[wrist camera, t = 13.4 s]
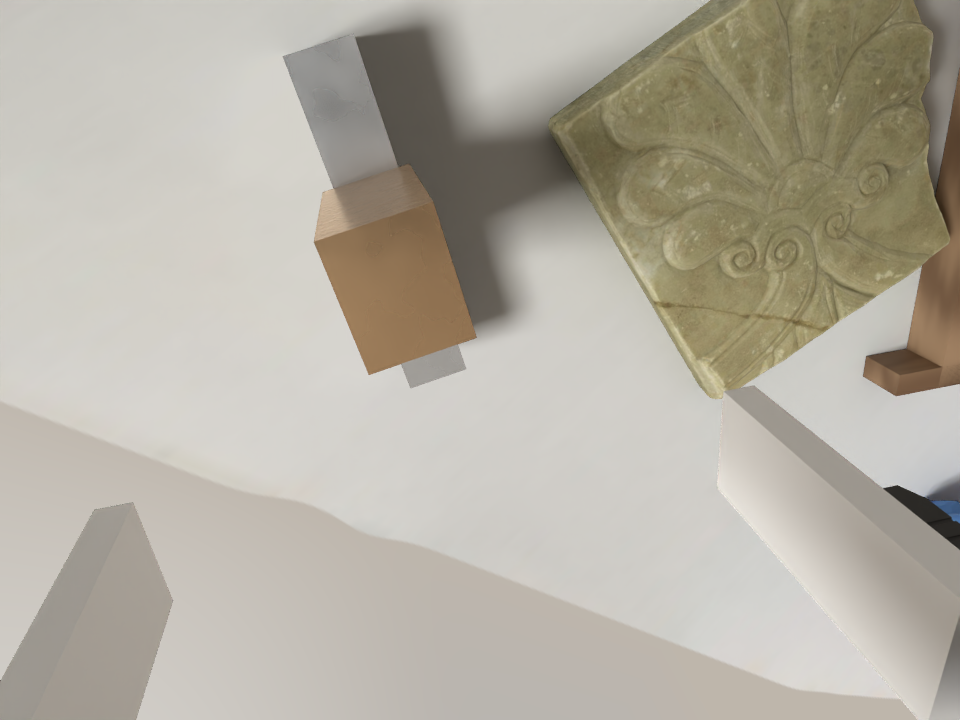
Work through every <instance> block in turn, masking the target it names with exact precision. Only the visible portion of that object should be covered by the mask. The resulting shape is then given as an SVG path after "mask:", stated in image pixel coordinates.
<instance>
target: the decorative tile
mask: <svg viewBox="0 0 960 720" xmlns="http://www.w3.org/2000/svg"><path fill="white" fill-rule="evenodd" d="M933 37H934V36H933V32H932V31H931V30H930V29H929V28H927V27H926V26H925V25H924V24H923V23H922V21H921V19H920V17H919V13H918V10H917V8H916V6H915V4H914V0H710V1H709V2H708V3H706V4H705V5H704V6H702V7H701V8H700V9H698V10H697V11H696V12H694V13H693V14H692V15H690V16H689V17H688V18H686V19H685V20H684V21H682V22H681V23H679V24H678V25H677V26H675V27H674V28H673V29H671V30H670V31H668V32H667V33H666V34H664V35H663V36H662V37H660V38H659V39H657V40H656V41H655V42H653V43H652V44H651V45H649V46H648V47H646V48H645V49H644V50H642V51H641V52H639V53H638V54H637V55H635V56H634V57H632V58H631V59H630V60H628V61H627V62H626V63H624V64H623V65H622V66H620V67H619V68H618V69H616V70H615V71H614V72H612V73H611V74H610V75H608V76H607V77H606V78H604V79H603V80H602V81H600V82H599V83H598V84H596V85H595V86H594V87H592V88H591V89H590V90H588V91H587V92H586V93H584V94H583V95H581V96H580V97H579V98H577V99H576V100H575V101H573V102H572V103H570V104H569V105H568V106H566V107H565V108H564V109H562V110H561V111H560V112H558V113H557V114H555V115H554V116H553V117H551V118H550V121H549V124H548V128H549V131H550V132H551V134H552V136H553V138H554V139H555V141H556V143H557V145H558V146H559V148H560V150H561V152H562V153H563V155H564V157H565V159H566V160H567V162H568V163H569V165H570V167H571V168H572V170H573V172H574V174H575V175H576V177H577V179H578V181H579V182H580V184H581V186H582V187H583V189H584V191H585V193H586V194H587V196H588V198H589V200H590V201H591V203H592V204H593V206H594V208H595V210H596V211H597V213H598V215H599V216H600V218H601V220H602V222H603V223H604V225H605V227H606V228H607V230H608V232H609V233H610V235H611V237H612V238H613V240H614V242H615V244H616V245H617V247H618V249H619V250H620V252H621V254H622V256H623V257H624V259H625V261H626V262H627V264H628V266H629V267H630V269H631V271H632V272H633V274H634V276H635V277H636V279H637V281H638V283H639V284H640V286H641V288H642V289H643V291H644V293H645V294H646V296H647V298H648V299H649V301H650V303H651V304H652V306H653V308H654V310H655V311H656V313H657V315H658V317H659V318H660V320H661V322H662V323H663V325H664V327H665V328H666V330H667V332H668V334H669V336H670V337H671V339H672V341H673V342H674V344H675V346H676V347H677V349H678V351H679V353H680V354H681V356H682V357H683V359H684V361H685V363H686V364H687V366H688V368H689V369H690V371H691V372H692V374H693V376H694V378H695V379H696V381H697V383H698V384H699V386H700V387H701V388H702V389H703V391H704V392H705V393H706V394H707V395H708V396H709V397H710V398H713V399H722V398H723V391H727V390H733V389H738V388H741V387H742V386H743V385H745V384H746V383H748V382H749V381H751V380H753V379H754V378H756V377H757V376H759V375H760V374H762V373H764V372H765V371H767V370H769V369H770V368H772V367H774V366H775V365H777V364H779V363H780V362H782V361H784V360H785V359H787V358H788V357H789V356H791V355H792V354H793V353H795V352H796V351H798V350H799V349H800V348H802V347H803V346H805V345H806V344H807V343H809V342H810V341H812V340H813V339H814V338H816V337H818V336H819V335H821V334H822V333H824V332H825V331H826V330H828V329H829V328H831V327H832V326H833V325H835V324H836V323H837V322H839V321H840V320H842V319H843V318H845V317H847V316H848V315H850V314H851V313H853V312H854V311H856V310H857V309H859V308H861V307H862V306H864V305H865V304H867V303H868V302H869V301H871V300H872V299H873V298H875V297H876V296H877V295H879V294H881V293H882V292H884V291H885V290H887V289H888V288H890V287H891V286H893V285H895V284H896V283H898V282H899V281H901V280H902V279H904V278H905V277H907V276H908V275H910V274H911V273H913V272H914V271H915V270H917V269H918V268H919V267H921V266H922V265H923V264H924V263H925V262H926V261H927V260H928V259H929V258H930V257H932V256H933V255H934V254H936V253H937V252H938V251H940V250H941V249H942V248H944V247H945V246H946V245H948V244H949V241H950V236H949V233H948V231H947V227H946V224H945V222H944V219H943V216H942V213H941V211H940V210H939V207H938V205H937V202H936V199H935V197H934V189H933V186H932V183H931V178H930V176H929V170H928V164H927V156H928V149H929V144H928V142H929V135H930V122H929V120H928V117H927V115H926V111H925V108H924V105H923V103H922V101H921V97H922V94H923V92H924V89H925V87H926V84H927V83H928V82H929V81H930V59H931V52H932V45H933Z"/></svg>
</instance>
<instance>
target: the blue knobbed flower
mask: <svg viewBox="0 0 960 720" xmlns="http://www.w3.org/2000/svg"><path fill="white" fill-rule="evenodd" d="M931 502H932V503H934V504H935V505H936V506H938V507H939V508H940V509H942V510H943V511H944V512H945V513H947V514H948V515H949V516H951V517H952V520H953V521H957V522H959V523H960V504H959V502H958V501H931Z"/></svg>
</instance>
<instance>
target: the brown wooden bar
mask: <svg viewBox="0 0 960 720" xmlns="http://www.w3.org/2000/svg"><path fill="white" fill-rule="evenodd" d="M935 199H936V202H937V205H938V207H939V210H940V211H941V213H942V216H943V219H944V222H945V224H946V227H947V231H948V233H949V236H950V241H949V244H948V245H946V246H945V247H944V248H942V249H941V250H940V251H938V252H937V253H936V254H934V255H933V256H932V257H930V258H929V259H928V260H927V261H926V262H925V263H924V264H923V265H922V270H921V275H920V281H919V286H918V291H917V297H916V302H915V307H914V312H913V318H912V323H911V328H910V334H909V339H908V344H907V349H903V350H898V351H893V352H887V353H882V354H876V355H871V356H866V361H865V368H864V374H863V377H865V378H867V379H868V380H870V381H872V382H873V383H875V384H877V385H878V386H880V387H882V388H883V389H885V390H887V391H888V392H890V393H892V394H893V395H895V396H900V395H905V394H910V393H915V392H920V391H925V390H931V389H936V388H941V387H946V386H951V385H956V384H960V69H959V75H958V80H957V85H956V91H955V96H954V101H953V106H952V112H951V117H950V122H949V128H948V133H947V138H946V143H945V149H944V154H943V159H942V165H941V170H940V175H939V180H938V186H937V191H936V196H935Z"/></svg>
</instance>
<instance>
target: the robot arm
mask: <svg viewBox="0 0 960 720" xmlns="http://www.w3.org/2000/svg"><path fill="white" fill-rule="evenodd" d="M717 489H718V490H719V491H720V492H721V493H722V494H723V496H724V497H725V498H726V499H727V500H728V501H729V502H730V504H731V505H732V506H733V507H734V508H735V509H736V510H737V512H738V513H739V514H740V515H741V516H742V517H743V519H744V520H745V521H746V522H747V523H748V524H749V525H750V527H751V528H752V529H753V530H754V531H755V532H756V534H757V535H758V536H759V537H760V538H761V539H762V540H763V542H764V543H765V544H766V545H767V546H768V547H769V548H770V550H771V551H772V552H773V553H774V554H775V555H776V557H777V558H778V559H779V560H780V561H781V562H782V563H783V565H784V566H785V567H786V568H787V569H788V570H789V572H790V573H791V574H792V575H793V576H794V577H795V578H796V580H797V581H798V582H799V583H800V584H801V585H802V587H803V588H804V589H805V590H806V591H807V592H808V593H809V595H810V596H811V597H812V598H813V599H814V600H815V601H816V603H817V604H818V605H819V606H820V607H821V608H822V610H823V611H824V612H825V613H826V614H827V615H828V616H829V618H830V619H831V620H832V621H833V622H834V623H835V625H836V626H837V627H838V628H839V629H840V630H841V631H842V633H843V634H844V635H845V636H846V637H847V638H848V639H849V641H850V642H851V643H852V644H853V645H854V646H855V648H856V649H857V650H858V651H859V652H860V653H861V654H862V656H863V657H864V658H865V659H866V660H867V661H868V663H869V664H870V665H871V666H872V667H873V668H874V669H875V671H876V672H877V673H878V674H879V675H880V676H881V677H882V679H883V680H884V681H885V682H886V683H887V684H888V686H889V687H890V688H891V689H892V690H893V691H894V692H895V694H896V695H897V696H898V697H899V698H900V699H901V701H902V702H903V703H904V704H905V705H906V706H907V707H908V709H909V710H910V711H911V712H912V713H913V714H914V715H915V717H916V718H917V719H918V720H960V523H959V522H957V521H953V520H952V517H951V516H949V515H948V514H947V513H945V512H944V511H943V510H942V509H940V508H939V507H938V506H936V505H935V504H934V503H932V502H931V501H930V500H928V499H926V498H924V497H922V496H920V495H918V494H915V493H913V492H911V491H909V490H907V489H904V488H902V487H900V486H898V485H897V486H892V487H887V488H882V487H880V486H879V485H878V484H877V483H875V482H874V481H873V480H872V479H870V478H869V477H868V476H867V475H865V474H864V473H863V472H862V471H860V470H859V469H858V468H856V467H855V466H854V465H853V464H851V463H850V462H849V461H848V460H846V459H845V458H844V457H843V456H841V455H840V454H839V453H838V452H836V451H835V450H834V449H833V448H831V447H830V446H829V445H828V444H826V443H825V442H824V441H823V440H821V439H820V438H819V437H818V436H816V435H815V434H814V433H813V432H811V431H810V430H809V429H808V428H806V427H805V426H804V425H803V424H801V423H800V422H799V421H798V420H796V419H795V418H794V417H793V416H791V415H790V414H789V413H788V412H786V411H785V410H784V409H783V408H781V407H780V406H779V405H778V404H776V403H775V402H774V401H773V400H771V399H770V398H769V397H768V396H766V395H765V394H764V393H763V392H761V391H760V390H759V389H758V388H756V387H755V386H749V387H743V388H738V389H733V390H727V391H723V404H722V419H721V434H720V449H719V463H718V478H717ZM172 602H173V599H172V597H171V595H170V592H169V590H168V587H167V585H166V582H165V580H164V577H163V575H162V572H161V570H160V567H159V565H158V562H157V560H156V558H155V555H154V553H153V550H152V548H151V545H150V543H149V540H148V538H147V535H146V533H145V531H144V528H143V525H142V523H141V521H140V518H139V516H138V513H137V511H136V509H135V506H134V503H133V502H132V503H127V504H122V505H116V506H111V507H106V508H100V509H95V510H94V511H93V513H92V515H91V517H90V519H89V521H88V522H87V524H86V526H85V528H84V529H83V531H82V533H81V535H80V537H79V539H78V541H77V542H76V544H75V546H74V548H73V549H72V551H71V553H70V555H69V557H68V559H67V560H66V562H65V564H64V566H63V568H62V569H61V572H60V573H59V575H58V577H57V579H56V581H55V582H54V584H53V586H52V588H51V590H50V592H49V593H48V595H47V597H46V599H45V601H44V603H43V604H42V606H41V608H40V610H39V612H38V614H37V615H36V617H35V619H34V621H33V623H32V625H31V626H30V628H29V630H28V632H27V634H26V636H25V637H24V639H23V641H22V643H21V644H20V646H19V648H18V650H17V652H16V654H15V655H14V657H13V659H12V661H11V663H10V664H9V666H8V668H7V670H6V672H5V674H4V675H3V677H2V679H1V680H0V720H136V718H137V715H138V712H139V709H140V706H141V702H142V699H143V696H144V693H145V689H146V686H147V683H148V680H149V677H150V673H151V670H152V667H153V664H154V660H155V657H156V654H157V651H158V648H159V644H160V641H161V638H162V635H163V632H164V628H165V625H166V622H167V619H168V615H169V612H170V609H171V606H172Z"/></svg>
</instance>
